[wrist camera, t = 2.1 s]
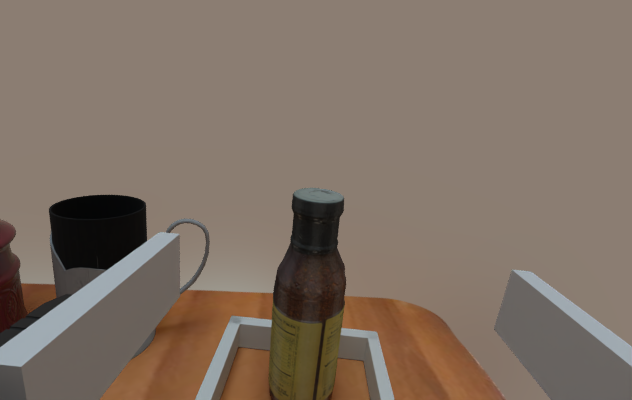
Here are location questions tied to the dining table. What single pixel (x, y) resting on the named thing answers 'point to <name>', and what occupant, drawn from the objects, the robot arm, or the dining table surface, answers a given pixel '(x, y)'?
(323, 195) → the sauce bottle
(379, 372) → the frame
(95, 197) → the glass holder
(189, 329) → the dining table surface
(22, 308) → the canister
